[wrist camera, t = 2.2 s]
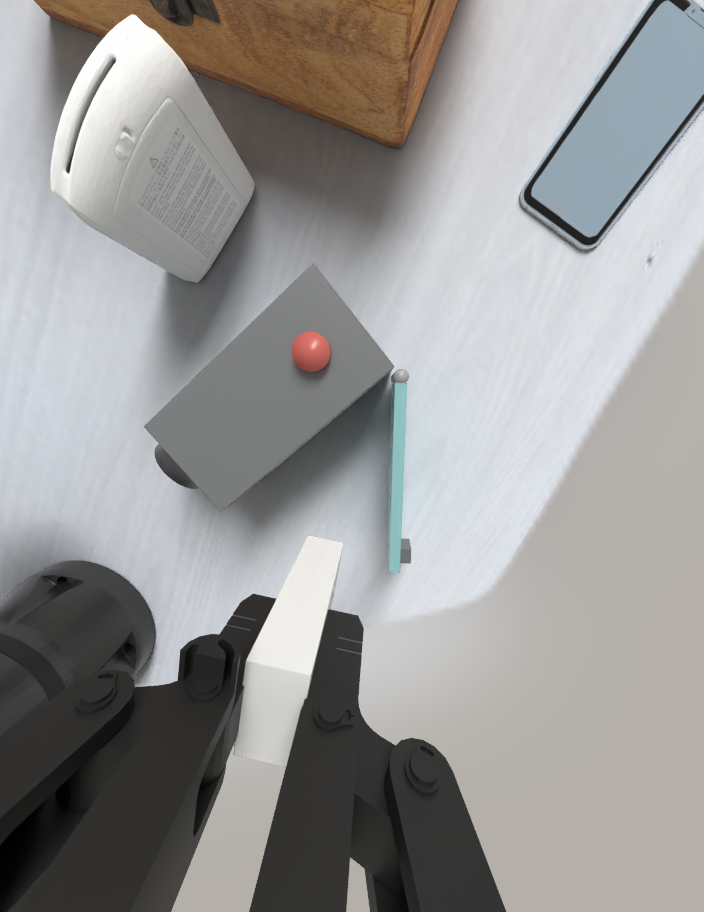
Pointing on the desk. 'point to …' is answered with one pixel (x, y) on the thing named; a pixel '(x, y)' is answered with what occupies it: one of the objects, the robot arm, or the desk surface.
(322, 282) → the camera body
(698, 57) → the smartphone
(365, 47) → the wooden box
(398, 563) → the side door
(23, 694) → the robot arm
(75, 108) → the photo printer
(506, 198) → the desk surface
